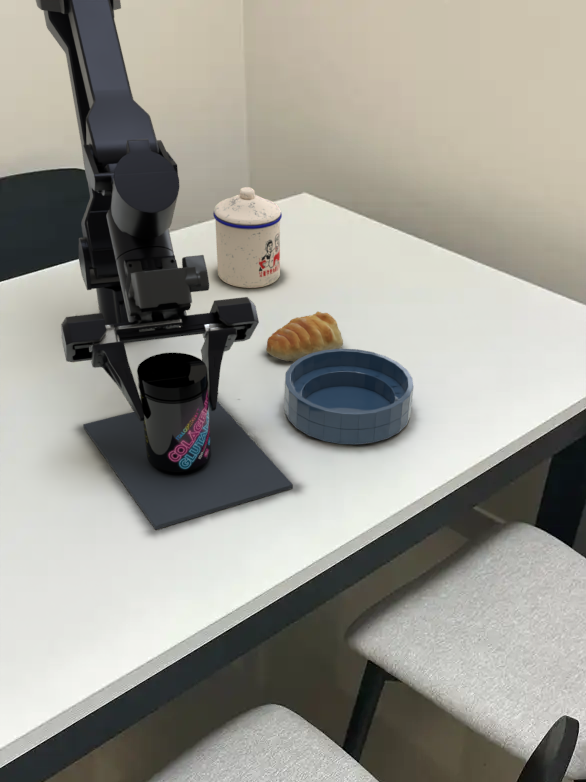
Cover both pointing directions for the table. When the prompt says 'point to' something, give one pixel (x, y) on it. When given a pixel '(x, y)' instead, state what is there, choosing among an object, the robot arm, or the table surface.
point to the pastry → (305, 337)
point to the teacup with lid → (248, 240)
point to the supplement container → (175, 412)
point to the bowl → (348, 396)
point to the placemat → (194, 491)
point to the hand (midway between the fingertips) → (178, 415)
